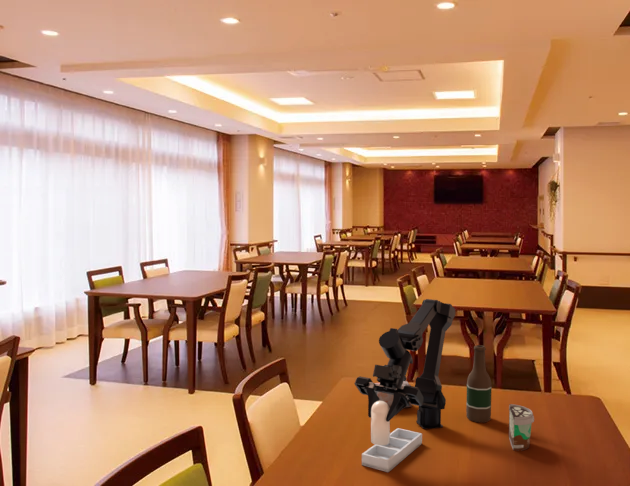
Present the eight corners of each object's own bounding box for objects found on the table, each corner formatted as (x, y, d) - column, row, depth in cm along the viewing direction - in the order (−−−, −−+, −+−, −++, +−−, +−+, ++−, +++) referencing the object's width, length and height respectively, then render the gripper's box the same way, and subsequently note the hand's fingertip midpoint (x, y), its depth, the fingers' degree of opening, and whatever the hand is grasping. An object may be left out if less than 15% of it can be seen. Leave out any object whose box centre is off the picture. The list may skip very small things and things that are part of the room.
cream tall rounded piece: (382, 436, 159) (382, 397, 158) (393, 442, 155) (393, 402, 154) (367, 440, 157) (367, 400, 156) (378, 446, 152) (378, 405, 152)
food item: (374, 411, 196) (375, 382, 196) (368, 403, 204) (368, 375, 203) (413, 408, 199) (413, 380, 198) (405, 401, 207) (405, 373, 206)
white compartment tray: (397, 437, 173) (397, 427, 173) (422, 443, 169) (422, 433, 169) (361, 465, 155) (361, 454, 155) (388, 472, 150) (388, 461, 150)
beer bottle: (464, 420, 187) (465, 347, 186) (467, 413, 194) (469, 342, 193) (489, 424, 184) (491, 349, 183) (491, 416, 192) (493, 344, 190)
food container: (537, 454, 162) (538, 419, 161) (513, 452, 163) (514, 417, 162) (529, 437, 174) (530, 404, 173) (508, 435, 175) (509, 403, 174)
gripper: (357, 347, 163) (336, 397, 154) (419, 357, 152) (400, 410, 144) (371, 369, 170) (351, 417, 161) (431, 379, 159) (413, 431, 151)
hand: (378, 418), depth 154 cm, fingers closed on cream tall rounded piece, 5 cm apart
